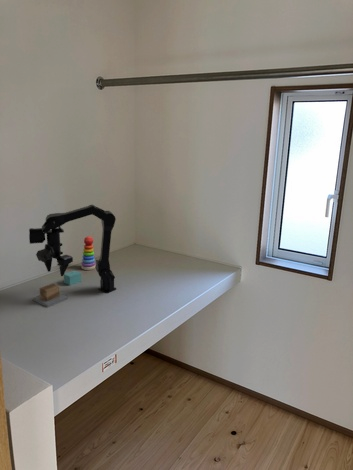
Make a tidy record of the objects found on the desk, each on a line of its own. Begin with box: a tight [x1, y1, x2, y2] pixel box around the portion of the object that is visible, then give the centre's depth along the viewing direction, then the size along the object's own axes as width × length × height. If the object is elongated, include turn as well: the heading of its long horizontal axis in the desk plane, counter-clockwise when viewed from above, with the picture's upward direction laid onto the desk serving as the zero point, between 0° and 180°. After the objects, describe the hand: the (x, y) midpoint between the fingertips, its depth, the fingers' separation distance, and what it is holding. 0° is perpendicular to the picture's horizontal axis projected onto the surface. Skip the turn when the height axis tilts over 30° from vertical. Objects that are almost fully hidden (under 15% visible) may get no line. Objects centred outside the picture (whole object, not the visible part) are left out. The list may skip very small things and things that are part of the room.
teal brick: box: [63, 270, 82, 286], centre depth 194 cm, size 5×7×5 cm
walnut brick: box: [39, 283, 61, 301], centre depth 173 cm, size 5×7×5 cm
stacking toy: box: [80, 235, 96, 271], centre depth 212 cm, size 8×8×19 cm
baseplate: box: [31, 293, 68, 308], centre depth 174 cm, size 11×11×1 cm
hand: (55, 273), depth 176 cm, fingers open, 9 cm apart
